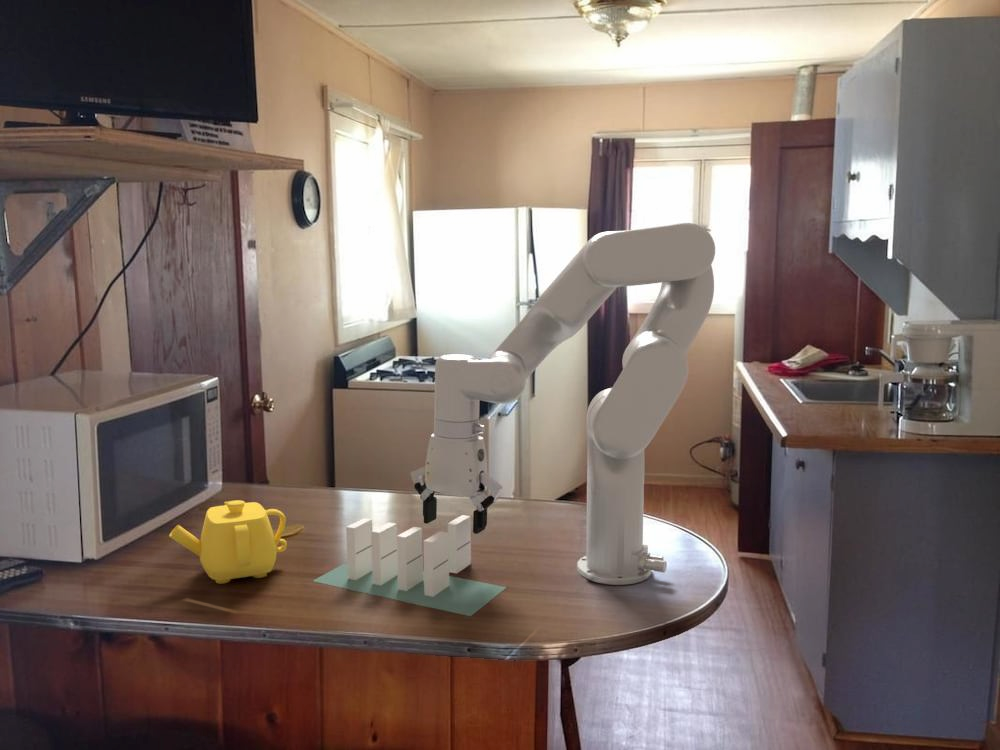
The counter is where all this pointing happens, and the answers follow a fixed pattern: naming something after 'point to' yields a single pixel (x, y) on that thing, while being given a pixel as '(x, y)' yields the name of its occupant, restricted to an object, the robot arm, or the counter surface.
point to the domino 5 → (459, 543)
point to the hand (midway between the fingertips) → (454, 526)
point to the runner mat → (419, 591)
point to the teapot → (235, 541)
